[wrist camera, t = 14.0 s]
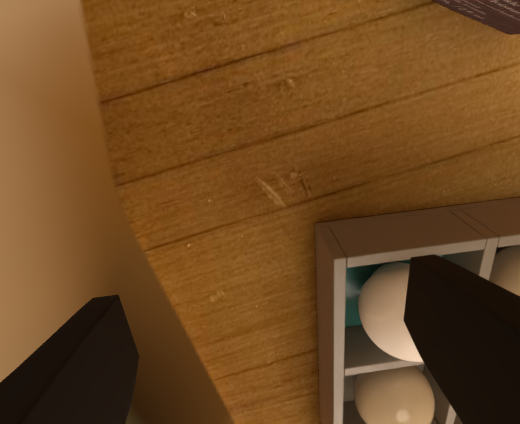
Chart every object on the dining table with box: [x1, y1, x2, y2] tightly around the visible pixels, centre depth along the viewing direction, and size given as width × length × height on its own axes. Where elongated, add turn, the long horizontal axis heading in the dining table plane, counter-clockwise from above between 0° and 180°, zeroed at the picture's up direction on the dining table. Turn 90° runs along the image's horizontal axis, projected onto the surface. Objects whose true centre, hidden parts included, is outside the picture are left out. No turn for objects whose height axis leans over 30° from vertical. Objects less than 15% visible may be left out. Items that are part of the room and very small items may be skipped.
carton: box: [315, 197, 520, 424], centre depth 22 cm, size 15×22×4 cm
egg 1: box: [353, 365, 435, 424], centre depth 21 cm, size 5×5×5 cm
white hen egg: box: [358, 262, 423, 362], centre depth 18 cm, size 5×5×5 cm
